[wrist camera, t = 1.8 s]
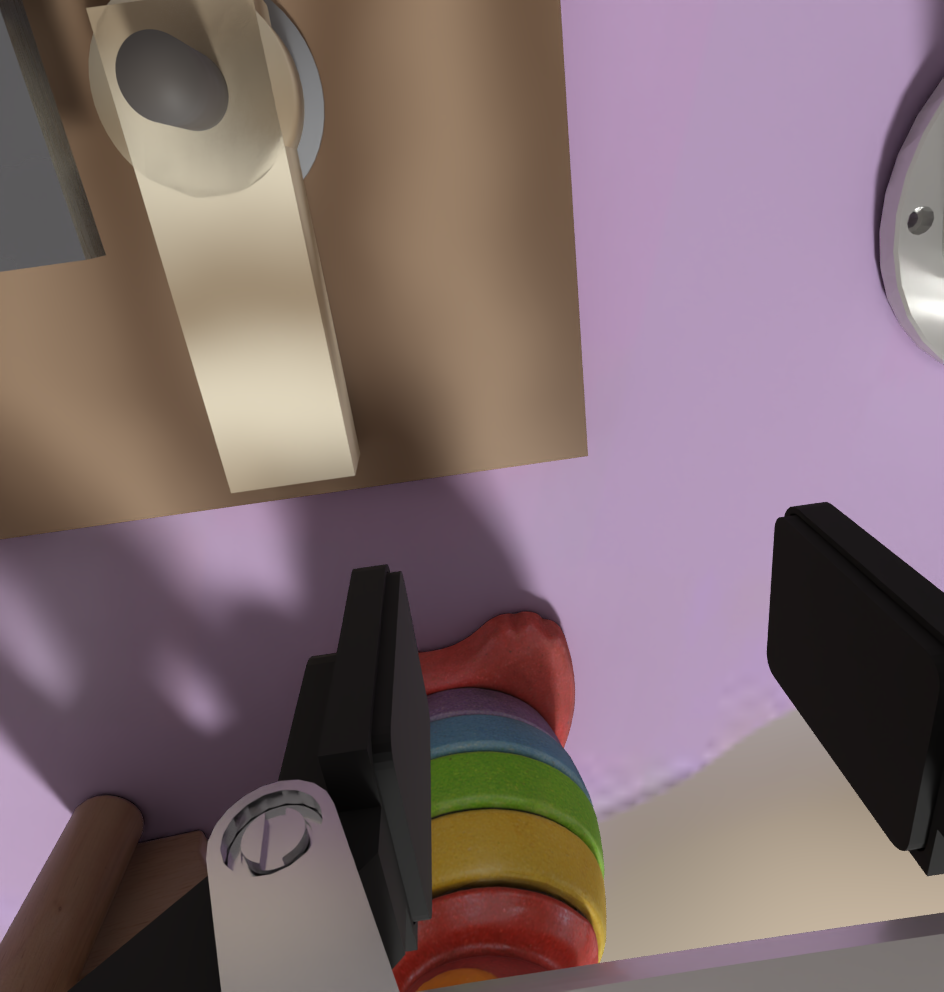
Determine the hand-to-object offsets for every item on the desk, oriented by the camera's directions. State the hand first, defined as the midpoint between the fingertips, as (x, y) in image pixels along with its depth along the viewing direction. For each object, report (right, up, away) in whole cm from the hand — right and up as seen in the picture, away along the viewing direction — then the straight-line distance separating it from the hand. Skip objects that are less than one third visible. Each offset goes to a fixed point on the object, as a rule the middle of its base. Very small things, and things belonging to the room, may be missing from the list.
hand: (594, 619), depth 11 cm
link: (-9, +9, +10) cm, 16 cm away
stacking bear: (-2, -8, +21) cm, 22 cm away
